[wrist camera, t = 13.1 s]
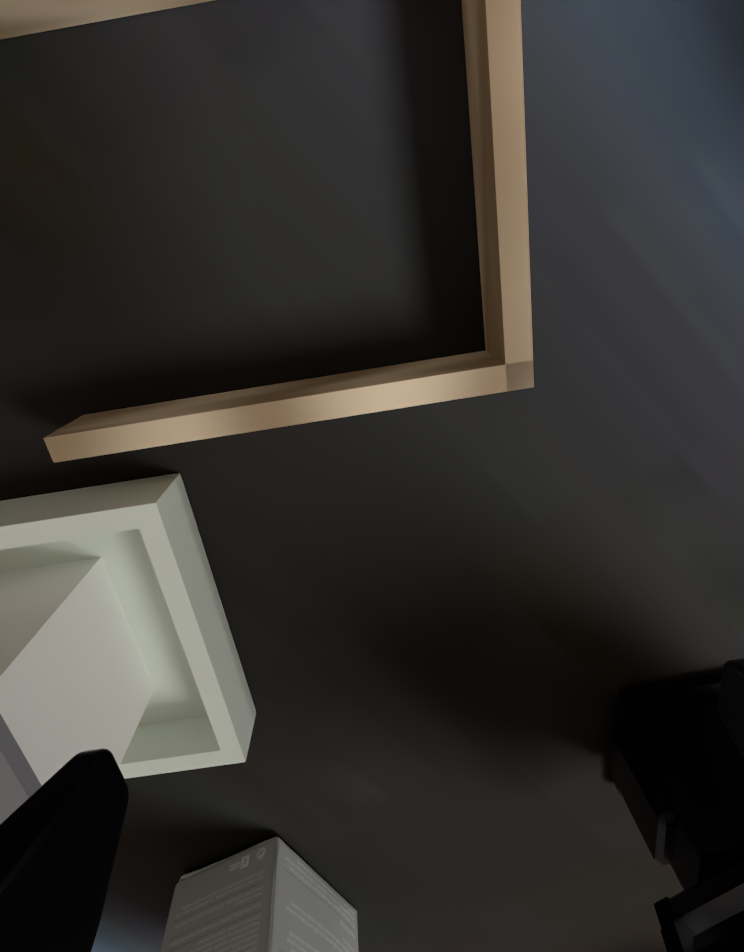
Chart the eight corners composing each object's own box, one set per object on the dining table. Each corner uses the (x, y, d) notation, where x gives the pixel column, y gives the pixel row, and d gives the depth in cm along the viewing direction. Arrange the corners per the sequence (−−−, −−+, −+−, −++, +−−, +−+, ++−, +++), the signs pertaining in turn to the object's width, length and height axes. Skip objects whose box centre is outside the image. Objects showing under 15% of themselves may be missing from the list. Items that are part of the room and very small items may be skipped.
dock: (487, -91, 13) (515, -164, 11) (510, 370, 18) (534, 387, 16) (-70, 11, 14) (-155, -38, 11) (91, 436, 18) (53, 462, 16)
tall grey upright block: (100, 557, 19) (-26, 706, 13) (155, 688, 22) (71, 869, 15) (-15, 574, 20) (-197, 731, 13) (52, 703, 22) (-74, 888, 16)
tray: (179, 472, 19) (155, 502, 17) (256, 711, 23) (245, 762, 21) (-131, 521, 19) (-197, 557, 17) (3, 747, 24) (-35, 800, 21)
